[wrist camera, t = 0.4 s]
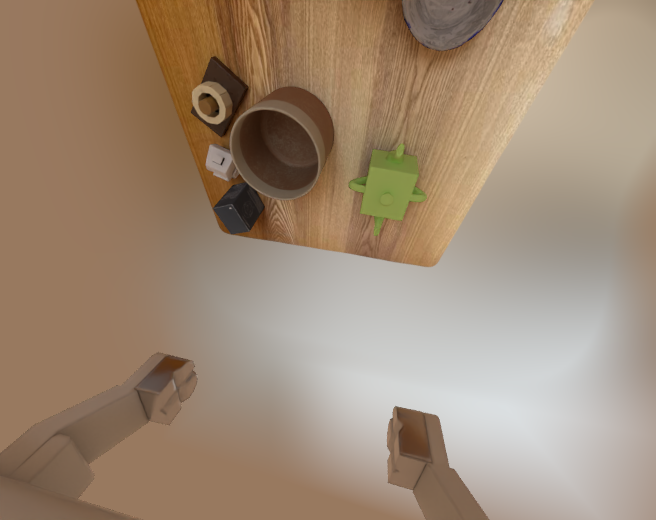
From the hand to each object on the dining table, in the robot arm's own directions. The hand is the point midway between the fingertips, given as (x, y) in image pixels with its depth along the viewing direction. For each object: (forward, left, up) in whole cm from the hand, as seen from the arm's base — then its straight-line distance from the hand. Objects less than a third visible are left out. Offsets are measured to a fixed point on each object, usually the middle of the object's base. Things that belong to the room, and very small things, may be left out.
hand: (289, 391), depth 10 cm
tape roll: (+22, -21, -49) cm, 58 cm away
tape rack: (+22, -21, -51) cm, 59 cm away
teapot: (+9, +14, -51) cm, 54 cm away
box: (+38, -6, -51) cm, 64 cm away
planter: (+16, -6, -51) cm, 54 cm away
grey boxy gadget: (+31, -14, -51) cm, 61 cm away
